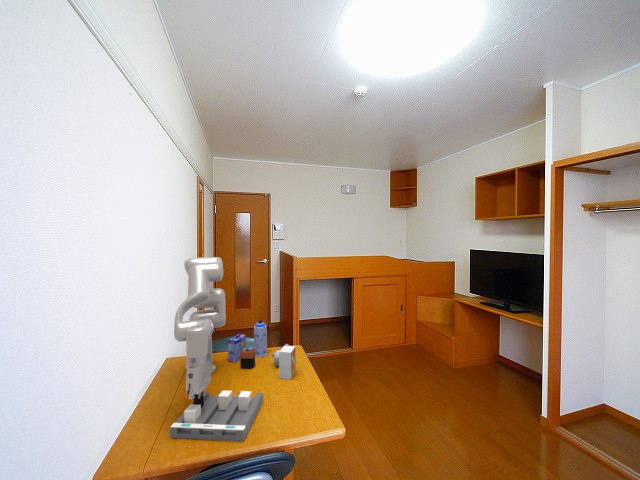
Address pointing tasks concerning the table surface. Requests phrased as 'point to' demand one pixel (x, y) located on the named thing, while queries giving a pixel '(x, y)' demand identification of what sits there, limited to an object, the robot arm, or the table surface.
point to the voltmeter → (277, 354)
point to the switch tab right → (244, 400)
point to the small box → (287, 362)
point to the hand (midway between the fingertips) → (198, 407)
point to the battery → (247, 358)
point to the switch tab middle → (224, 400)
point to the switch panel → (218, 421)
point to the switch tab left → (192, 413)
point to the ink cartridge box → (236, 347)
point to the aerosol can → (260, 339)
